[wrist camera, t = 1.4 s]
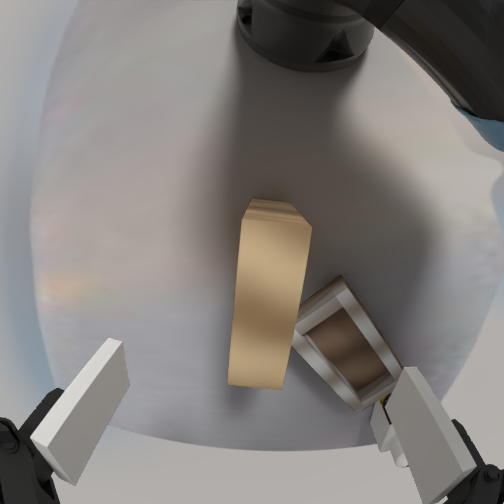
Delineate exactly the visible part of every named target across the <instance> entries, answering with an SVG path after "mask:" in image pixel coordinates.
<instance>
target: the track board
mask: <svg viewBox="0 0 504 504" xmlns="http://www.w3.org/2000/svg"><path fill="white" fill-rule="evenodd" d="M292 346H293V347H294V348H295V350H296V351H297V352H298V353H299V354H300V355H301V356H302V357H303V358H304V359H305V360H306V361H307V362H308V363H309V365H310V366H311V367H312V368H313V369H314V370H315V371H316V372H317V373H318V374H319V375H320V376H321V377H322V378H323V379H324V380H325V381H326V383H327V384H328V385H329V386H330V387H331V388H332V389H333V390H334V391H335V392H336V393H337V394H338V395H339V396H340V397H341V398H342V399H343V400H344V401H345V402H346V403H347V404H348V405H349V406H350V407H351V408H352V409H353V410H354V411H355V412H356V413H358V412H360V411H361V410H363V409H365V408H367V407H368V406H370V405H372V404H373V403H375V402H376V401H378V400H380V399H381V398H383V397H384V396H386V395H387V394H389V393H391V392H392V391H393V390H394V388H395V386H396V384H397V382H398V379H399V377H400V375H401V373H402V371H403V370H402V369H403V367H402V365H401V364H400V362H399V361H398V359H397V357H396V356H395V354H394V353H393V351H392V349H391V348H390V346H389V345H388V343H387V342H386V340H385V339H384V337H383V335H382V334H381V332H380V331H379V329H378V328H377V326H376V325H375V323H374V322H373V320H372V319H371V317H370V316H369V314H368V313H367V311H366V310H365V308H364V307H363V305H362V304H361V303H360V301H359V300H358V298H357V297H356V295H355V294H354V292H353V291H352V290H351V288H350V287H349V285H348V284H347V282H346V281H345V280H344V278H343V277H342V275H340V276H339V277H337V278H336V279H335V280H333V281H332V282H331V283H329V284H328V285H327V286H325V287H324V288H323V289H321V290H320V291H318V292H317V293H316V294H314V295H313V296H311V297H310V298H309V299H307V300H306V301H304V302H303V303H302V304H300V305H299V310H298V315H297V320H296V325H295V330H294V335H293V340H292Z"/></svg>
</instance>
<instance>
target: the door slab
mask: <svg viewBox="0 0 504 504" xmlns="http://www.w3.org/2000/svg"><path fill="white" fill-rule="evenodd" d="M311 233H312V227H311V226H310V225H309V223H308V222H307V221H306V220H305V219H304V218H303V217H302V215H301V214H300V213H299V212H298V211H297V210H296V209H295V208H294V206H293V205H292V204H291V203H288V202H280V201H271V200H262V199H253V198H252V200H251V202H250V204H249V206H248V208H247V210H246V212H245V214H244V217H243V219H242V225H241V235H240V245H239V256H238V267H237V277H236V288H235V299H234V311H233V322H232V334H231V346H230V358H229V370H228V382H227V384H228V385H236V386H245V387H255V388H266V389H280V390H282V386H283V381H284V377H285V373H286V368H287V364H288V359H289V354H290V350H291V345H292V340H293V335H294V330H295V325H296V320H297V315H298V310H299V304H300V299H301V294H302V288H303V282H304V277H305V271H306V265H307V259H308V253H309V246H310V240H311Z"/></svg>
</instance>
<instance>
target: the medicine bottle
mask: <svg viewBox="0 0 504 504" xmlns="http://www.w3.org/2000/svg"><path fill="white" fill-rule="evenodd" d="M392 392H393V391H392ZM392 392H391V393H389V394H387V395H386V396H384V397H383V398H381V399H380V400H378V401H376V402H375V406H374V409H373V413H372V417H371V420H370V424H371V427H372V430H373V433H374V436H375V439H376V442H377V444H378V447H379V450H380V452H385V451H388V450H391V453H392V456H393V459H394V462H395V464H396V466H398V467H408V466H409V465H408V462H407V460H406V457H405V455H404V452H403V449H402V447H401V445H400V442H399V440H398V437H397V435H396V432H395V430H394V428H393V425H392V423H391V420H390V418H389V416H388V413H387V411H386V409H385V406H386V404H387V402H388V400H389V398H390V396H391V394H392Z"/></svg>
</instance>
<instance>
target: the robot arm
mask: <svg viewBox="0 0 504 504" xmlns="http://www.w3.org/2000/svg"><path fill="white" fill-rule="evenodd" d="M237 18H238V23H239V27H240V30H241V33H242V35H243V36H244V38H245V40H246V41H247V42H248V44H249V45H250V46H251V47H252V48H253V49H254V50H255V51H256V52H258V53H259V54H260V55H262V56H263V57H264V58H266V59H268V60H270V61H271V62H273V63H276V64H278V65H280V66H283V67H286V68H289V69H293V70H298V71H304V72H326V71H332V70H336V69H340V68H342V67H345V66H347V65H349V64H350V63H352V62H354V61H355V60H356V59H357V58H358V57H359V56H360V55H361V54H362V53H363V52H364V50H365V49H366V48H367V47H368V45H369V44H370V42H371V39H372V37H373V33H374V26H375V27H376V28H378V29H379V30H380V31H381V32H382V33H383V34H385V35H386V36H387V37H388V38H389V39H391V40H392V41H393V42H394V43H395V44H397V45H398V46H399V47H400V48H401V49H402V50H403V51H404V52H406V53H407V54H408V55H409V56H410V57H411V58H412V59H413V60H414V61H415V62H416V63H417V64H418V65H419V66H420V67H422V69H423V70H424V71H426V72H427V74H428V75H429V76H430V77H431V78H432V79H433V80H434V81H435V82H436V83H437V84H438V85H439V86H440V87H441V88H442V89H443V91H444V92H445V93H446V94H447V95H448V96H449V98H450V99H451V103H452V104H453V106H454V107H455V108H456V109H457V110H458V111H459V112H460V113H461V114H463V115H464V116H465V117H466V118H467V119H468V120H469V121H470V122H471V124H472V125H473V126H474V127H475V129H476V130H477V131H478V132H479V133H480V135H481V136H482V137H483V138H484V139H485V141H487V142H488V143H489V144H490V145H491V146H493V147H494V148H496V149H498V150H500V151H503V152H504V0H238V2H237ZM129 386H130V382H129V377H128V372H127V366H126V361H125V354H124V348H123V342H122V341H118V340H114V339H110V338H108V339H107V340H106V342H105V343H104V344H103V345H102V346H101V347H100V349H99V350H98V351H97V352H96V353H95V355H94V356H93V357H92V358H91V359H90V361H89V362H88V363H87V364H86V365H85V367H84V368H83V369H82V370H81V372H80V373H79V374H78V375H77V377H76V378H75V379H74V380H73V382H72V383H71V384H70V385H69V387H68V388H67V389H66V390H65V391H64V390H62V389H60V388H56V389H54V390H53V391H51V392H49V393H48V394H47V395H46V397H45V398H44V399H43V400H42V402H41V403H40V404H39V405H38V406H37V407H36V409H35V410H34V411H33V413H32V414H31V415H30V416H29V417H28V419H27V420H26V421H25V422H24V424H23V425H22V426H21V428H20V429H19V430H17V428H16V427H15V425H14V424H13V423H12V421H11V420H9V419H7V418H2V417H0V504H60V501H59V498H58V495H57V493H56V489H55V486H54V482H53V479H52V478H51V475H52V473H53V471H54V472H55V473H56V474H57V476H58V477H59V478H60V479H62V480H64V481H66V482H68V483H70V484H72V485H74V486H75V485H76V484H77V482H78V480H79V478H80V476H81V474H82V472H83V470H84V468H85V466H86V464H87V462H88V460H89V459H90V457H91V455H92V453H93V451H94V449H95V447H96V445H97V444H98V442H99V440H100V438H101V436H102V434H103V432H104V431H105V429H106V427H107V425H108V423H109V422H110V420H111V418H112V416H113V414H114V413H115V411H116V409H117V407H118V406H119V404H120V402H121V400H122V398H123V397H124V395H125V393H126V391H127V390H128V388H129ZM385 409H386V411H387V413H388V416H389V418H390V420H391V423H392V425H393V428H394V430H395V432H396V435H397V437H398V440H399V442H400V445H401V447H402V449H403V452H404V455H405V457H406V460H407V462H408V465H409V467H410V470H411V472H412V475H413V478H414V481H415V483H416V486H417V489H418V491H419V494H420V497H421V500H422V503H423V504H434V503H437V502H439V501H440V500H441V499H442V498H444V497H445V496H446V495H447V498H448V500H447V501H446V502H444V503H443V504H503V502H504V469H503V470H499V469H498V468H497V466H494V465H492V464H488V465H486V464H485V463H484V461H483V459H482V458H481V456H480V454H479V452H478V451H477V449H476V447H475V445H474V444H473V442H472V441H471V439H470V437H469V436H468V435H467V432H466V430H465V429H464V427H463V426H462V425H461V424H460V423H459V422H457V420H455V419H453V420H450V418H449V416H448V415H447V413H446V411H445V410H444V408H443V406H442V405H441V403H440V402H439V400H438V399H437V397H436V395H435V394H434V392H433V391H432V389H431V388H430V386H429V385H428V383H427V381H426V380H425V378H424V377H423V375H422V374H421V372H420V371H419V369H418V368H417V366H415V367H404V368H403V371H402V373H401V375H400V377H399V379H398V382H397V384H396V386H395V388H394V390H393V392H392V394H391V396H390V398H389V400H388V402H387V404H386V406H385Z"/></svg>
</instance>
